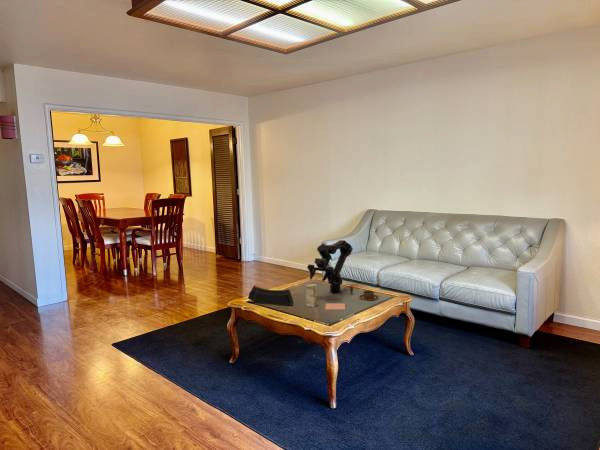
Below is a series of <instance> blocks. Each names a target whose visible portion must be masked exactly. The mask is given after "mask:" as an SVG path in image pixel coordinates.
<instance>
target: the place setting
mask: <svg viewBox="0 0 600 450" xmlns="http://www.w3.org/2000/svg"><path fill="white" fill-rule="evenodd" d="M348 288H349V291H350V295H353V290H354V286H351V285H350V286H349V287H348ZM362 293H363V294H360V295H359V299H360V300H362V301H367V302H368V301H369V302H373V301H377V300H378V298H379V297H378V296H379V295H378V294H375V292H374V291H373V290H364V291H362ZM377 295H378V296H377ZM373 296H374V297H373ZM363 297H364V298H363ZM375 297H376V298H375ZM372 300H373V301H372Z"/></svg>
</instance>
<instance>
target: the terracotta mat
mask: <svg viewBox="0 0 600 450" xmlns="http://www.w3.org/2000/svg"><path fill="white" fill-rule="evenodd" d="M325 310H326V311H346V304H345V303H337V302H336V303H333V302H332V303H325Z"/></svg>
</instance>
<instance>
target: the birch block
mask: <svg viewBox="0 0 600 450" xmlns="http://www.w3.org/2000/svg"><path fill="white" fill-rule="evenodd" d="M305 297H306V299H305V303H306V306H307V307H312V308H314V307H316V306H318V284H316V283H315V284H314V283H309V284H306V285H305Z"/></svg>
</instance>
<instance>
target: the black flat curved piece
mask: <svg viewBox="0 0 600 450" xmlns="http://www.w3.org/2000/svg"><path fill="white" fill-rule="evenodd" d="M247 297H248V300H249V301H252V302H253V303H259V304H264V305H272V304H273V305H274V306H282V305H283V306H284V305H294V300H293V296H292V293H291V290H290V289H289V288H288V289H284V290H283V289H279V290H277V289H267V288H262V287H258V286H256V285H253V286H252V287H251V290H250V291H249V293H248V296H247ZM273 305H272V306H273Z"/></svg>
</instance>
